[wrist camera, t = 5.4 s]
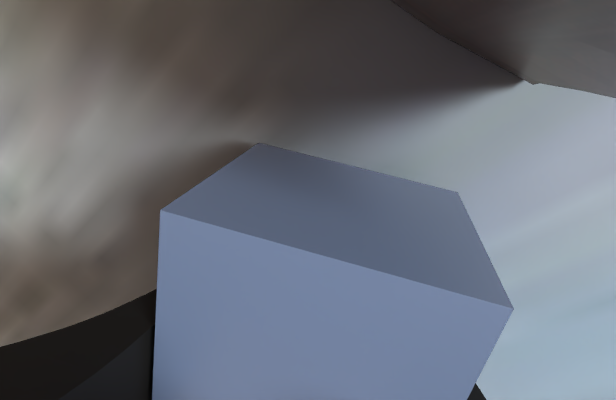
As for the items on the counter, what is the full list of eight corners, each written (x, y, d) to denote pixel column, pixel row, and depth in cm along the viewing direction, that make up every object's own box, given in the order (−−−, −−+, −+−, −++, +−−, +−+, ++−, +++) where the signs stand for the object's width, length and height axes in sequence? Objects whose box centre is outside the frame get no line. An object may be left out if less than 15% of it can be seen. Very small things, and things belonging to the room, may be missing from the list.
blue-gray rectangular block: (375, 405, 14) (368, 590, 9) (227, 358, 14) (147, 507, 10) (457, 192, 10) (513, 308, 6) (258, 142, 11) (160, 210, 6)
